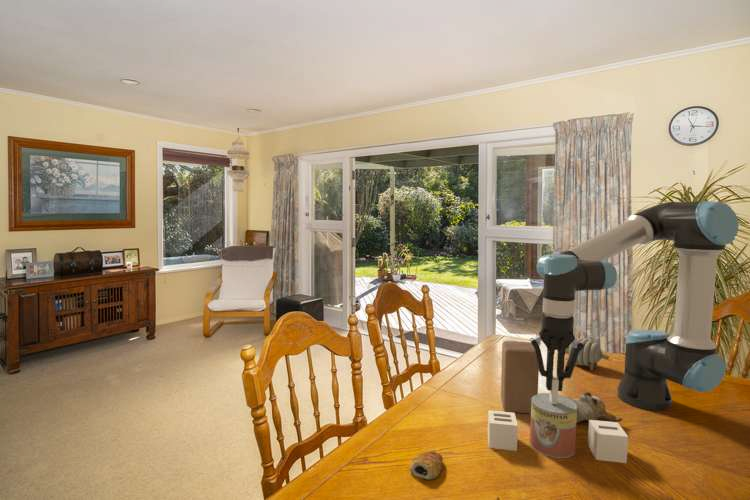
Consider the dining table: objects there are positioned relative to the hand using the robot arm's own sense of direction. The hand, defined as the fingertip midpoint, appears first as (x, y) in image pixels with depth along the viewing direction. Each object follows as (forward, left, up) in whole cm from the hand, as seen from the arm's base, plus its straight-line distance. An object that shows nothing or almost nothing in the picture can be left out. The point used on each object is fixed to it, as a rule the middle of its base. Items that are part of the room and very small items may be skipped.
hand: (553, 401), depth 110 cm
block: (+6, -21, -12) cm, 25 cm away
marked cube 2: (-13, +1, -12) cm, 18 cm away
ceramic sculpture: (-14, -17, -13) cm, 25 cm away
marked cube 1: (+13, +1, -12) cm, 18 cm away
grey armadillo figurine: (-24, -61, -12) cm, 67 cm away
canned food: (0, 0, -12) cm, 12 cm away
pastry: (+32, +17, -13) cm, 38 cm away
